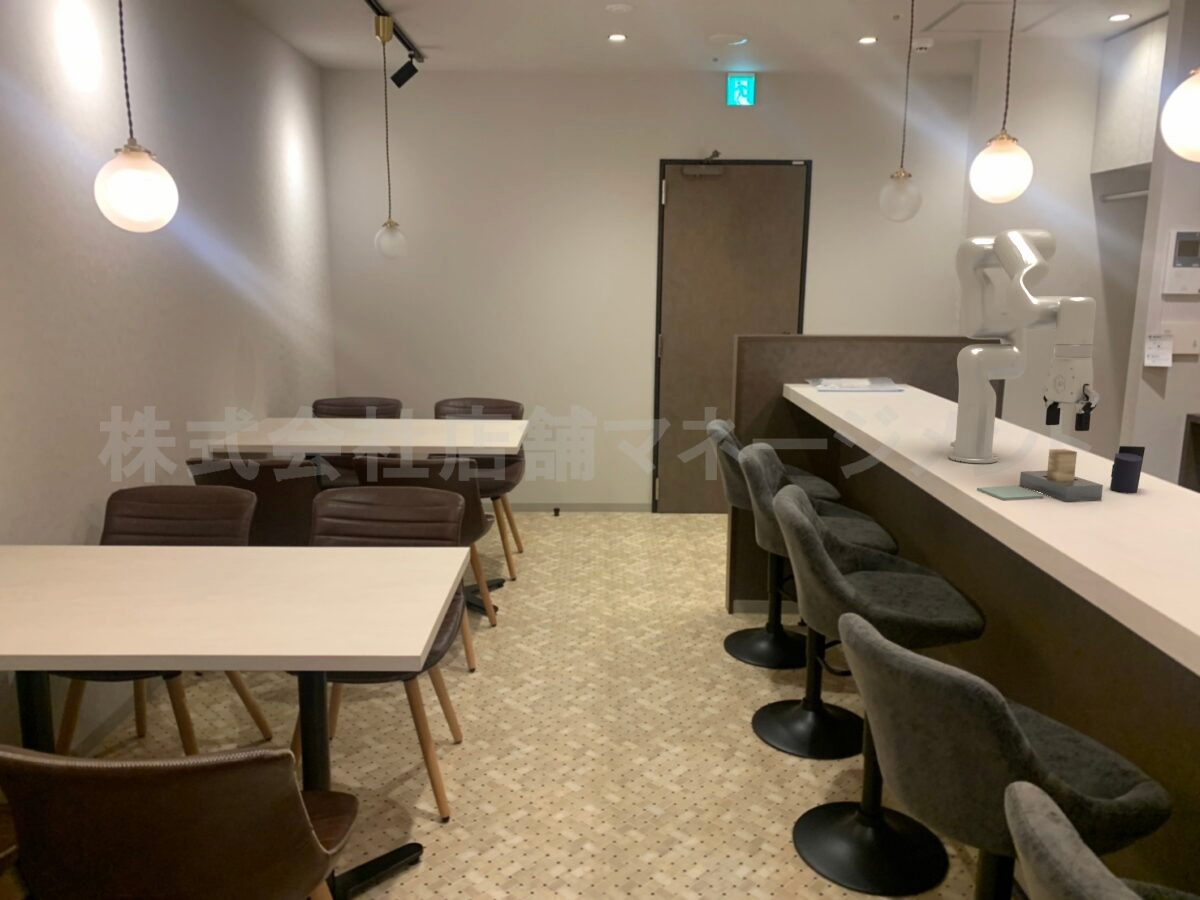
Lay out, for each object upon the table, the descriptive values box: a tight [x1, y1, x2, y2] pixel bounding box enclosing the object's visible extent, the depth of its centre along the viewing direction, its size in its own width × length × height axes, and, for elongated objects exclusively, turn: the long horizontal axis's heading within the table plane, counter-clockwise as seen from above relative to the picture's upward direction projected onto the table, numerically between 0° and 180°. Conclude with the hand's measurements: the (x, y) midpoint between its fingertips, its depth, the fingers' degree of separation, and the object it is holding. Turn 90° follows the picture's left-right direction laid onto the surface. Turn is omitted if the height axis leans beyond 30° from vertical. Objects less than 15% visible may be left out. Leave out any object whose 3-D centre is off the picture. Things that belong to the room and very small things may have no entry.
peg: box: [1046, 448, 1078, 481], centre depth 201 cm, size 4×4×10 cm
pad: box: [976, 485, 1044, 501], centre depth 201 cm, size 10×10×1 cm
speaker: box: [1109, 445, 1146, 494], centre depth 204 cm, size 8×6×10 cm
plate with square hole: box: [1019, 470, 1104, 503], centre depth 202 cm, size 16×9×4 cm, turn 10°
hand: (1066, 427), depth 199 cm, fingers open, 9 cm apart
